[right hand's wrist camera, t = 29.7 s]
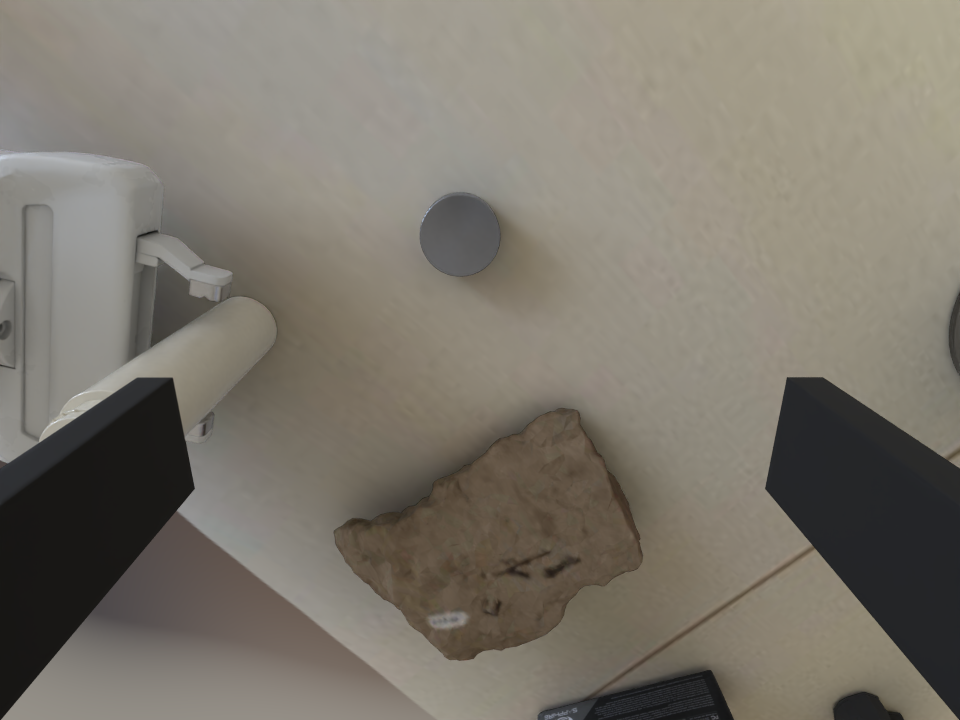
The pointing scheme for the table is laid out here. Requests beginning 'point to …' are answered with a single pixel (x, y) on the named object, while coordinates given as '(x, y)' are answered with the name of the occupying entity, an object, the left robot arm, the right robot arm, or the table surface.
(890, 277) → the table surface
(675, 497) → the table surface
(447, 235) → the lid
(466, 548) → the stone
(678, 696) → the graphics card box
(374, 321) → the table surface
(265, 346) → the cream cylindrical bottle
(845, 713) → the robot
